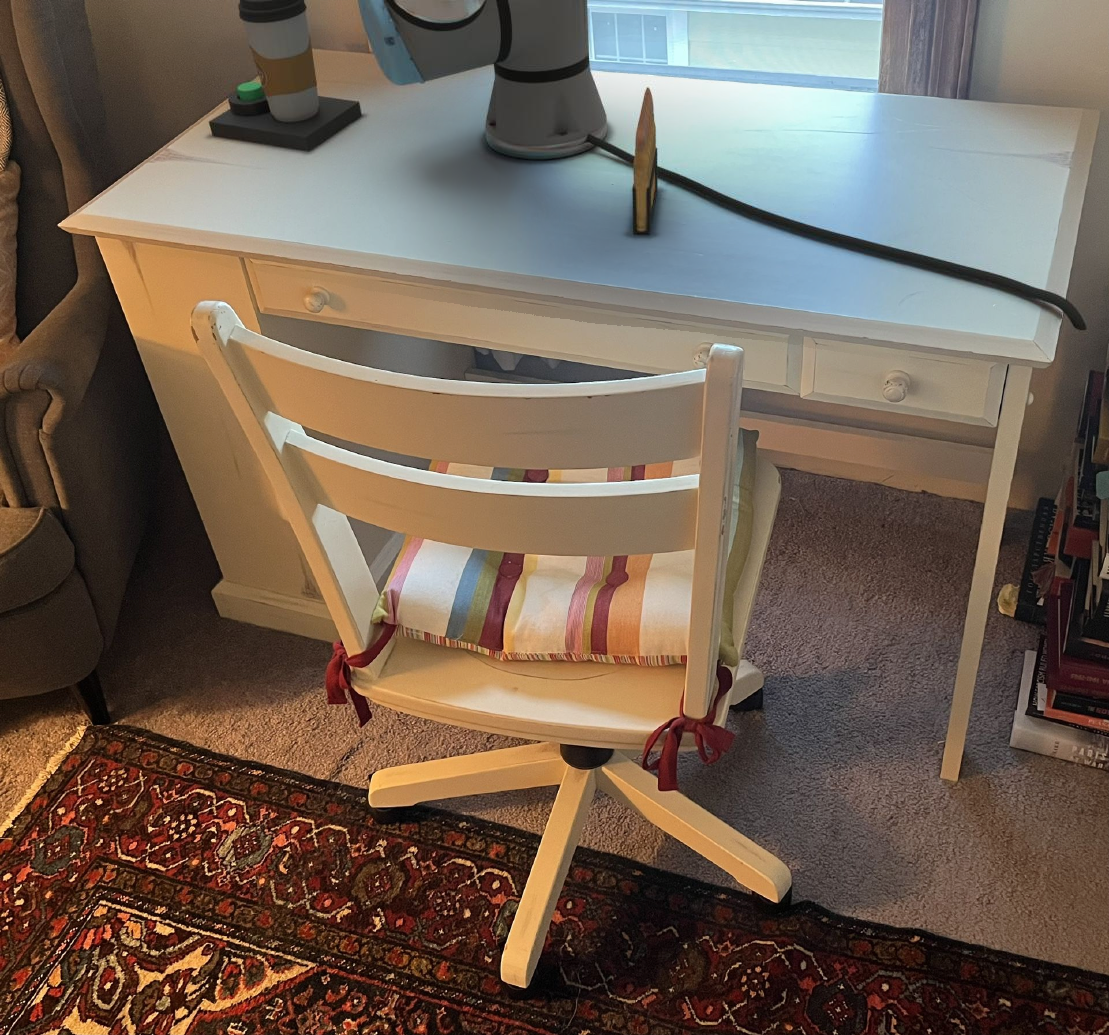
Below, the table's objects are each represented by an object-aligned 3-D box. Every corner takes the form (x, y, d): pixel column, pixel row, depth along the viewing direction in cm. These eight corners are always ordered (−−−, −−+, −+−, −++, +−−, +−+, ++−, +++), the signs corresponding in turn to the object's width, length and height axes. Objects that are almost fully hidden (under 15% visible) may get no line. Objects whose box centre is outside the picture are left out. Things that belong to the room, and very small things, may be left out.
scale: (362, 115, 146) (357, 89, 144) (309, 151, 139) (303, 124, 136) (267, 101, 152) (261, 76, 150) (211, 135, 145) (204, 109, 142)
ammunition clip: (650, 234, 116) (649, 124, 108) (632, 234, 117) (630, 124, 109) (657, 189, 124) (657, 83, 116) (641, 189, 124) (639, 84, 116)
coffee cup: (257, 109, 145) (227, -10, 135) (317, 96, 147) (293, -23, 137) (272, 131, 139) (242, 7, 129) (335, 116, 142) (310, -6, 132)
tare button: (269, 94, 146) (266, 83, 145) (254, 103, 144) (251, 92, 143) (250, 92, 147) (247, 80, 146) (235, 100, 145) (232, 89, 144)
